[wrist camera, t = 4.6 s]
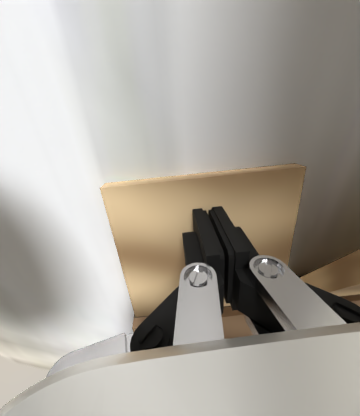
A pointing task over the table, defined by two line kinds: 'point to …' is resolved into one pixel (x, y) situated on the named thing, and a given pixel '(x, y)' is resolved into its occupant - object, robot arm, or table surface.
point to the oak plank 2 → (338, 276)
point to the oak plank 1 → (183, 221)
